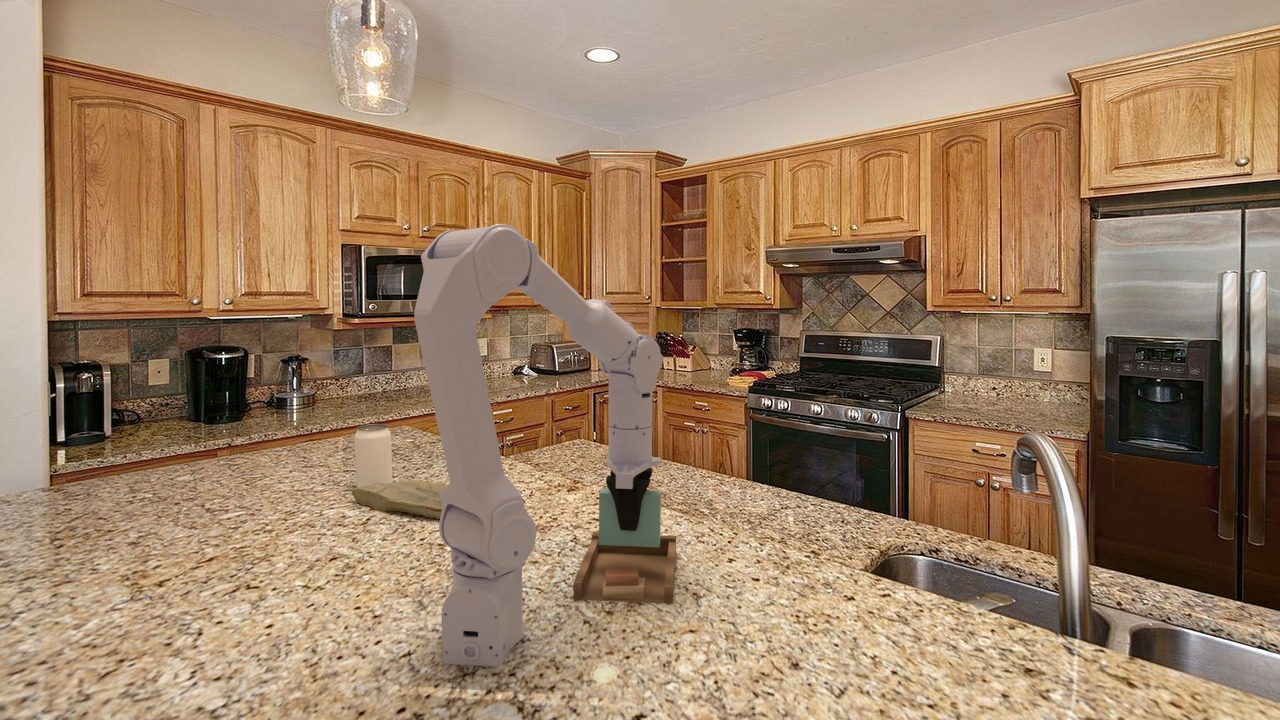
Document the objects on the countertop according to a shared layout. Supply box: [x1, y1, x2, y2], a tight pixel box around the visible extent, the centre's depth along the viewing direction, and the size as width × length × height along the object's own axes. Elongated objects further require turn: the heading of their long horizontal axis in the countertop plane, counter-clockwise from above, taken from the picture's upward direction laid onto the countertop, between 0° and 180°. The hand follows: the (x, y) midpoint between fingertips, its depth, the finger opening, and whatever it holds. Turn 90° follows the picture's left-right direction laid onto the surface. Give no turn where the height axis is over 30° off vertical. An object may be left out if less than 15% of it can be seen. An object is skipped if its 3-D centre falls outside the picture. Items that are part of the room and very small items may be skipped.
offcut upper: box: [606, 568, 639, 586], centre depth 77 cm, size 2×4×1 cm, turn 93°
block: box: [598, 488, 662, 547], centre depth 84 cm, size 2×8×7 cm, turn 85°
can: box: [354, 423, 393, 488], centre depth 123 cm, size 6×6×12 cm
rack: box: [572, 532, 677, 605], centre depth 83 cm, size 15×12×3 cm
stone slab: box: [351, 479, 449, 520], centre depth 112 cm, size 12×4×30 cm
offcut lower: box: [603, 577, 645, 600], centre depth 78 cm, size 2×5×2 cm, turn 85°
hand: (629, 526), depth 84 cm, fingers closed on block, 2 cm apart
